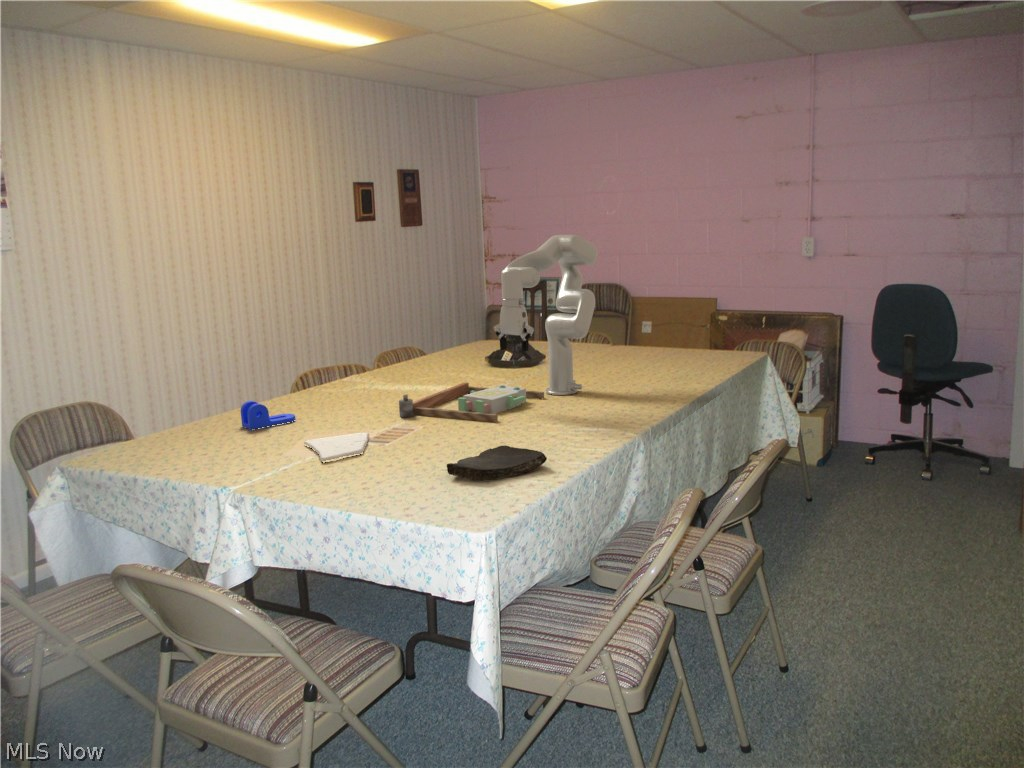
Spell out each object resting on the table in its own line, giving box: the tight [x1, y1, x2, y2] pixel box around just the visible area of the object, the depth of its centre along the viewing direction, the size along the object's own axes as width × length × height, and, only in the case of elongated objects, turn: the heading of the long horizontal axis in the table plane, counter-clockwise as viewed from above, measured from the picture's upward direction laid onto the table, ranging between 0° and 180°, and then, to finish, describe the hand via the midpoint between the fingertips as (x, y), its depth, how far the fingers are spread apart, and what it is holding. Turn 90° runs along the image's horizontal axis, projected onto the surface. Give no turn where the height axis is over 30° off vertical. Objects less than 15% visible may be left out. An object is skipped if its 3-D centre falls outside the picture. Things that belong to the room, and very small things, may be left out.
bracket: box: [240, 400, 296, 431], centre depth 295 cm, size 18×8×9 cm, turn 128°
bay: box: [398, 382, 545, 423], centre depth 309 cm, size 38×46×8 cm
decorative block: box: [457, 384, 527, 414], centre depth 309 cm, size 26×6×20 cm
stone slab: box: [446, 445, 548, 481], centre depth 231 cm, size 26×7×20 cm
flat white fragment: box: [304, 432, 370, 462], centre depth 260 cm, size 21×4×25 cm
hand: (514, 350), depth 300 cm, fingers open, 9 cm apart
